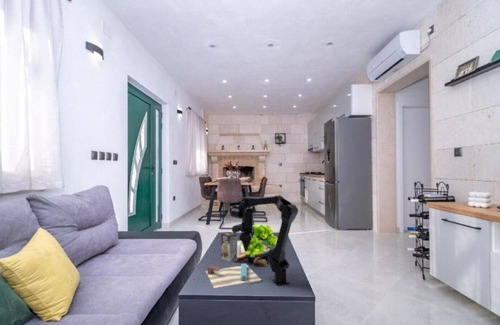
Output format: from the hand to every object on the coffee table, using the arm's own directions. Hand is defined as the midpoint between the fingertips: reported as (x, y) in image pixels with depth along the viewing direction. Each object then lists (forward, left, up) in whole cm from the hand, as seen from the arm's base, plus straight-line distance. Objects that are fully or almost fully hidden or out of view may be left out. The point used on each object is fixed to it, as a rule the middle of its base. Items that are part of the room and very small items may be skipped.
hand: (247, 248), depth 139 cm
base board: (-2, +9, -13) cm, 16 cm away
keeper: (+2, +17, -12) cm, 21 cm away
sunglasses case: (+14, -13, -14) cm, 23 cm away
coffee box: (+23, +4, -13) cm, 27 cm away
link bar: (-2, +3, -12) cm, 12 cm away
